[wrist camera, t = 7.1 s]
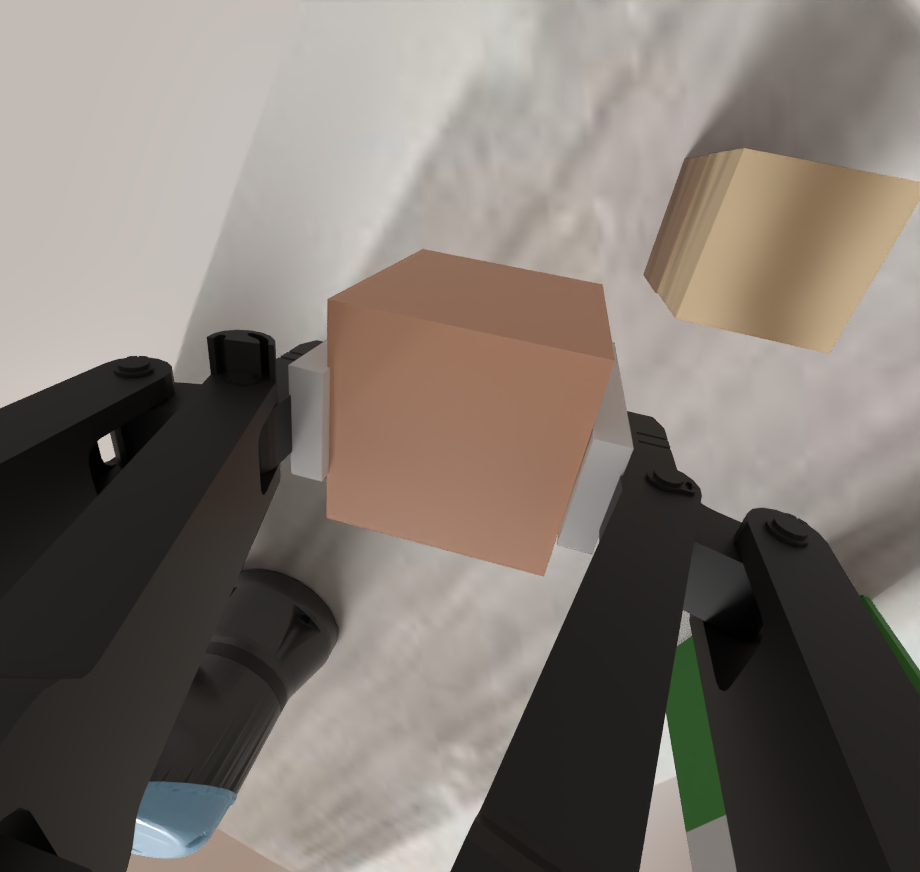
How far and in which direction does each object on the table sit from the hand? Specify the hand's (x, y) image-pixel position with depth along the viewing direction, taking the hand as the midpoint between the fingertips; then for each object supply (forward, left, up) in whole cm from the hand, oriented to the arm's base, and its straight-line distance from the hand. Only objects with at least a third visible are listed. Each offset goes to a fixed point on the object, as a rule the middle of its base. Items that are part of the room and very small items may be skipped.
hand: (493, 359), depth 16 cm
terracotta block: (0, 0, 0) cm, 0 cm away
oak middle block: (+11, +4, -16) cm, 19 cm away
